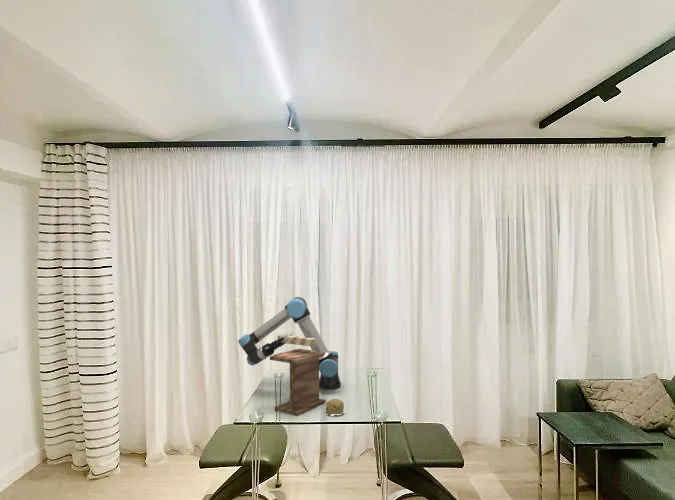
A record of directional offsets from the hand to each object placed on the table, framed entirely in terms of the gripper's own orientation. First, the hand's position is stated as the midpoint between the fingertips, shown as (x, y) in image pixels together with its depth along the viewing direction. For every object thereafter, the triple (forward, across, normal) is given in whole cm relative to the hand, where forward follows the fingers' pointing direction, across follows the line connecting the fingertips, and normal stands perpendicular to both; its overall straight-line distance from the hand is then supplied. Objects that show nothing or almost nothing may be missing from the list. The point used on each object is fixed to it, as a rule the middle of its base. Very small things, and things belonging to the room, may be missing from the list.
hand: (290, 335), depth 284 cm
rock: (+11, +5, -52) cm, 53 cm away
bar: (+1, 0, -6) cm, 6 cm away
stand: (-11, +6, -39) cm, 41 cm away
